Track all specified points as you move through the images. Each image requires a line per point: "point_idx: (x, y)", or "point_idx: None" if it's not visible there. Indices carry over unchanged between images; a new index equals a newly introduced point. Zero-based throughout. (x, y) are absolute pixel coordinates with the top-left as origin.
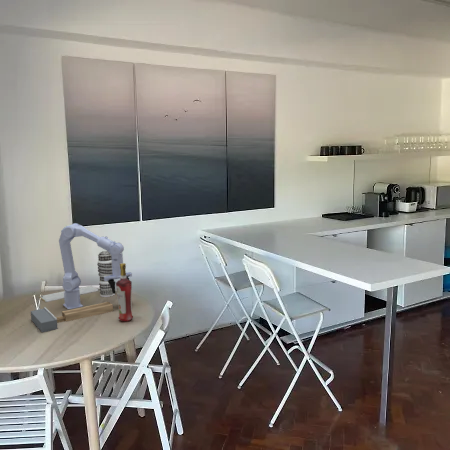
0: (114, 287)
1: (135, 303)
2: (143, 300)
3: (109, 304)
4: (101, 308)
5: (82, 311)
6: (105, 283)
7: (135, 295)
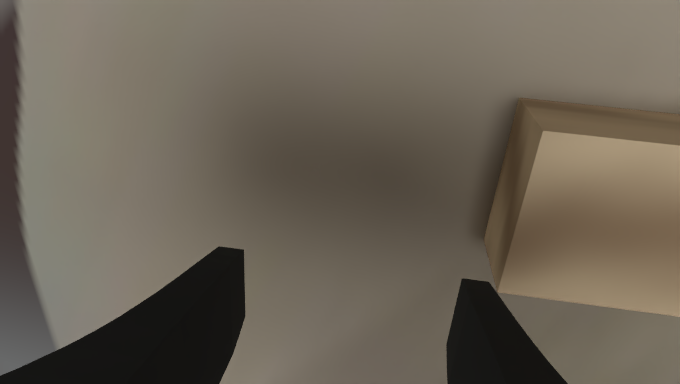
0: (524, 381)
1: (146, 152)
2: (27, 178)
3: (571, 176)
4: None
5: None
6: None
7: None
